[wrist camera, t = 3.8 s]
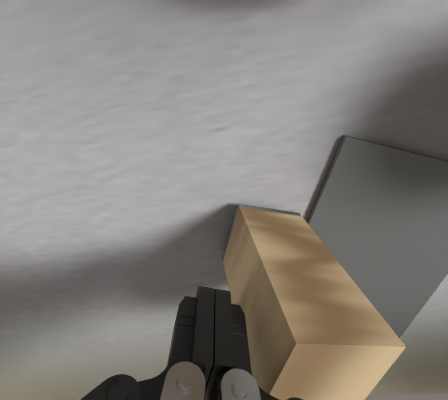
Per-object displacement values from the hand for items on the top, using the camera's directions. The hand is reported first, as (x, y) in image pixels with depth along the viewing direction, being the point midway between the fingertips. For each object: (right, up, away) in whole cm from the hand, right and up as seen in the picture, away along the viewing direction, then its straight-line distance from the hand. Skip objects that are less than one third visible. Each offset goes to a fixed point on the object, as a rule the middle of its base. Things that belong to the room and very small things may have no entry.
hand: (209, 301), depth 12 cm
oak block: (+3, +2, +7) cm, 8 cm away
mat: (+12, 0, +8) cm, 14 cm away
